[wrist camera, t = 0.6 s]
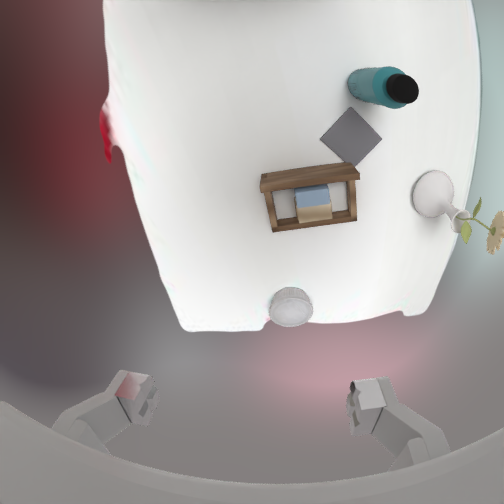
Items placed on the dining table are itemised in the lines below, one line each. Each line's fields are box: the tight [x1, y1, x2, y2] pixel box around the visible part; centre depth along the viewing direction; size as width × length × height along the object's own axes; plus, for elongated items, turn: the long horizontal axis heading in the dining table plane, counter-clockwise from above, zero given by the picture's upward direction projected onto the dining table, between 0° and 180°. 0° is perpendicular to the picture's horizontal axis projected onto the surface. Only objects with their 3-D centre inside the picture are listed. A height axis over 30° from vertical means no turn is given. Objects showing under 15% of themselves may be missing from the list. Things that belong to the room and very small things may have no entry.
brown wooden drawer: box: [260, 162, 360, 232], centre depth 52 cm, size 12×18×7 cm, turn 103°
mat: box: [320, 107, 382, 167], centre depth 47 cm, size 9×9×1 cm
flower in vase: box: [413, 171, 504, 255], centre depth 41 cm, size 13×11×25 cm
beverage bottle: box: [348, 67, 419, 109], centre depth 33 cm, size 6×7×20 cm
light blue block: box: [294, 184, 330, 208], centre depth 51 cm, size 3×6×8 cm, turn 103°
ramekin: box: [269, 287, 313, 327], centre depth 71 cm, size 11×11×5 cm
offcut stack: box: [294, 197, 333, 223], centre depth 55 cm, size 4×7×4 cm, turn 103°
